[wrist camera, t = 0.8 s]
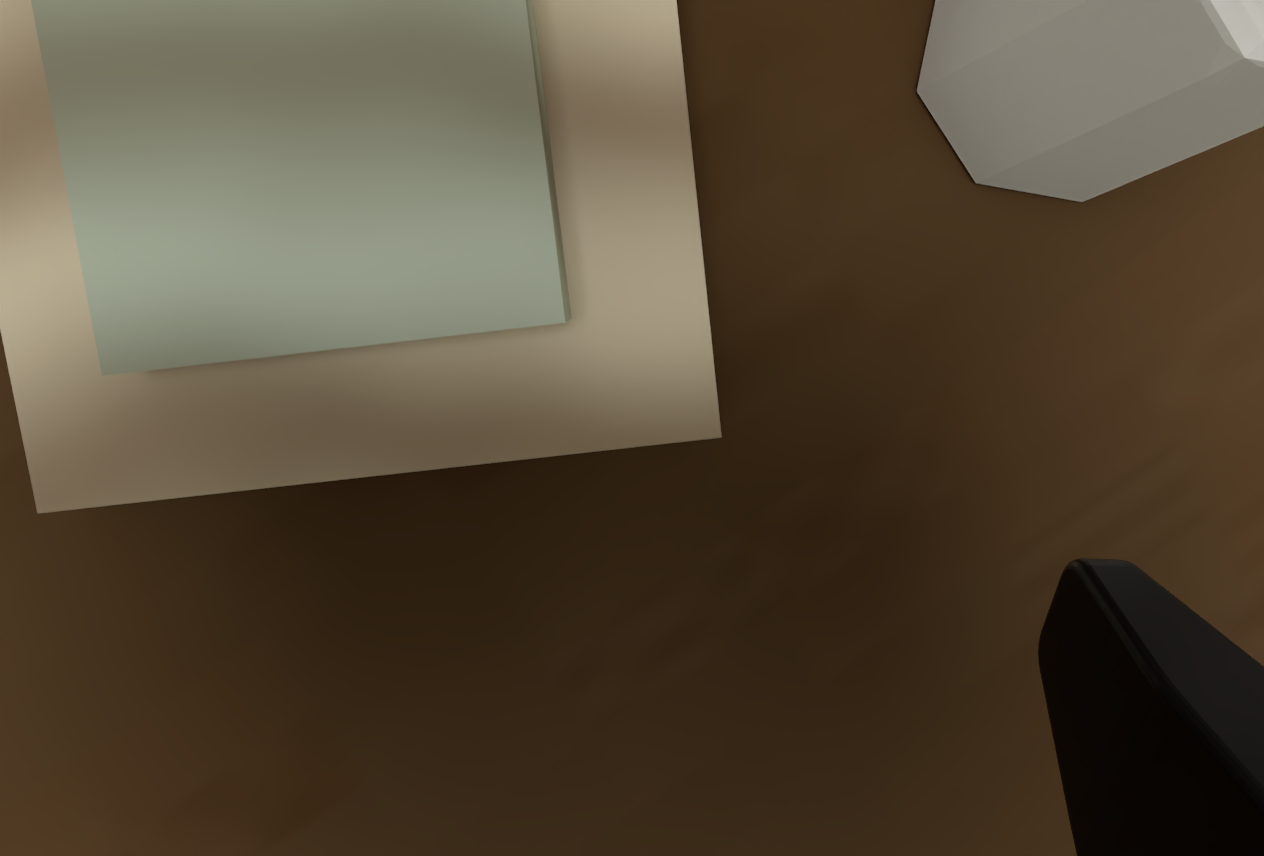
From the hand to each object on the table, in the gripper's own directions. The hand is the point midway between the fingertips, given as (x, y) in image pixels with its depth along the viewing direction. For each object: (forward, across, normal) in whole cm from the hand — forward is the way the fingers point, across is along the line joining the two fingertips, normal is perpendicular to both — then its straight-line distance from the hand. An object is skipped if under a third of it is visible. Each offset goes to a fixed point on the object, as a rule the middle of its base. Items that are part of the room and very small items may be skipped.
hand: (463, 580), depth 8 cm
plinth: (+14, +4, +2) cm, 15 cm away
